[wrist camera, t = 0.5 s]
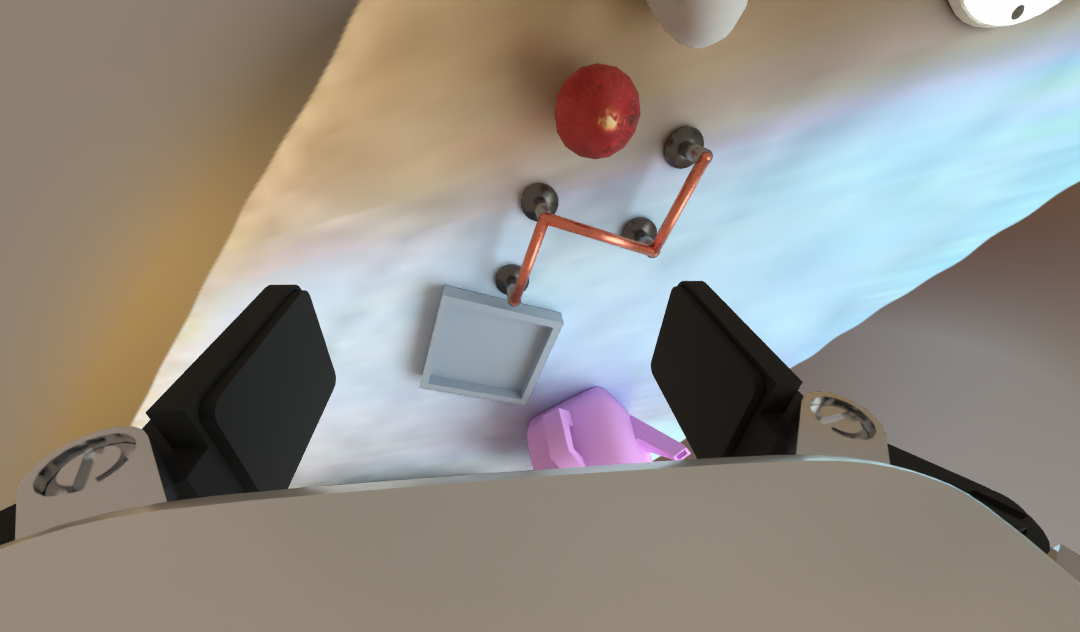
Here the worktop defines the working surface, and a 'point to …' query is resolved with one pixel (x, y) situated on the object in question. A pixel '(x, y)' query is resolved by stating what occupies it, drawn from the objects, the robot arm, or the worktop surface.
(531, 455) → the teakettle
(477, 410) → the worktop surface
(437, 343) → the dish
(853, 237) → the worktop surface
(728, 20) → the donut
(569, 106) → the onion
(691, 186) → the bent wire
